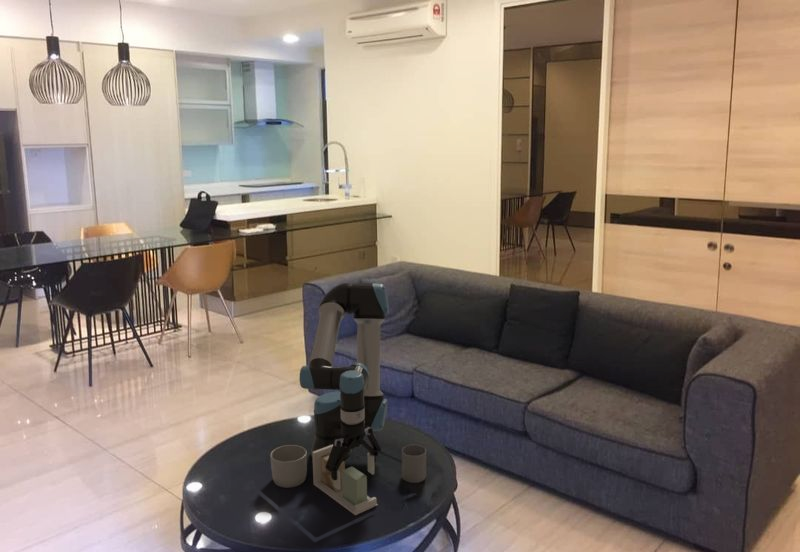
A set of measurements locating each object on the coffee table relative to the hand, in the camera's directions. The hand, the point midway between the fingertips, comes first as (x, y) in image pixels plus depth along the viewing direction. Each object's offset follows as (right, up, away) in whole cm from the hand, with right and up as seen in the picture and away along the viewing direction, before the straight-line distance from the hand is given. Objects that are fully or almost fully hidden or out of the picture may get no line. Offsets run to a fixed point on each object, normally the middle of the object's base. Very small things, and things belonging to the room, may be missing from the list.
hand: (354, 480), depth 211 cm
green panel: (0, -7, +1) cm, 7 cm away
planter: (-23, -5, +15) cm, 28 cm away
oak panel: (-8, -5, +10) cm, 14 cm away
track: (-4, -7, +5) cm, 10 cm away
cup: (+20, -4, +18) cm, 27 cm away
